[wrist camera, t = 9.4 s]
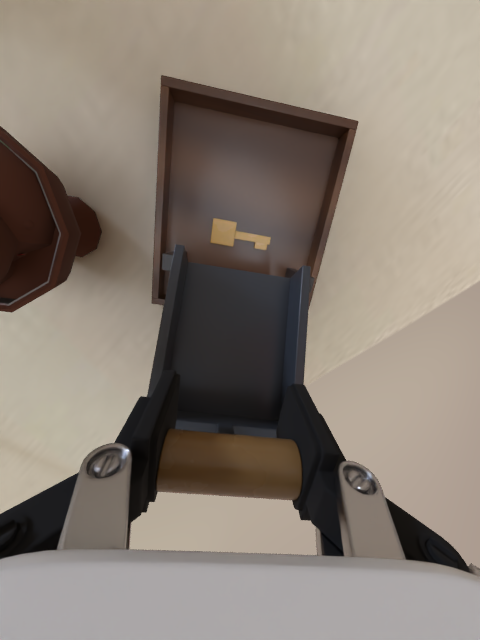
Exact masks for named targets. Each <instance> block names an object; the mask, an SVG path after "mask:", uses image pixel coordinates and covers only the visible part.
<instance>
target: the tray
mask: <svg viewBox="0 0 480 640" xmlns="http://www.w3.org/2000/svg"><path fill="white" fill-rule="evenodd" d="M357 126H358V121H355V120H351V119H347V118H342V117H338V116H334V115H330V114H325V113H321V112H317V111H313V110H308V109H304V108H300V107H295V106H291V105H287V104H283V103H278V102H274V101H270V100H265V99H261V98H257V97H253V96H248V95H244V94H240V93H236V92H231V91H227V90H223V89H218V88H214V87H210V86H206V85H201V84H197V83H193V82H188V81H184V80H180V79H176V78H171V77H167V76H163V75H162V76H161V94H160V117H159V141H158V164H157V188H156V211H155V234H154V258H153V281H152V304H159V305H164V303H165V297H166V292H167V286H168V281H169V275H170V270H171V265H172V259H173V254H174V248H175V245H176V244H178V245H184V246H185V251H186V255H187V259H188V262H192V263H198V264H205V265H211V266H217V267H223V268H230V269H236V270H242V271H248V272H255V273H261V274H267V275H274V276H280V277H286V278H291V277H292V276H293V275H294V274H295V273H296V272H297V271H298V270H299V269H300V268H301V267H302V266H303V265H304V266H310V267H311V273H310V289H309V304H308V310H309V306H310V302H311V298H312V295H313V291H314V287H315V283H316V280H317V276H318V272H319V268H320V265H321V261H322V257H323V253H324V250H325V246H326V242H327V238H328V235H329V231H330V227H331V224H332V220H333V216H334V212H335V209H336V205H337V201H338V197H339V194H340V190H341V186H342V182H343V179H344V175H345V171H346V167H347V164H348V160H349V156H350V152H351V149H352V145H353V141H354V137H355V134H356V129H357ZM213 218H217V219H222V220H227V221H233V222H237V225H236V231H240V232H245V233H250V234H256V235H261V236H267V237H271V239H270V244H269V245H267V249H266V250H261V249H256V248H254V244H255V242H251V241H245V240H239V239H235V238H234V245H233V247H232V246H226V245H220V244H215V243H210V241H211V233H212V225H213Z"/></svg>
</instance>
